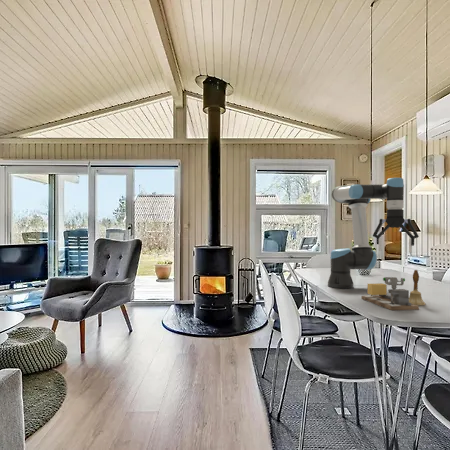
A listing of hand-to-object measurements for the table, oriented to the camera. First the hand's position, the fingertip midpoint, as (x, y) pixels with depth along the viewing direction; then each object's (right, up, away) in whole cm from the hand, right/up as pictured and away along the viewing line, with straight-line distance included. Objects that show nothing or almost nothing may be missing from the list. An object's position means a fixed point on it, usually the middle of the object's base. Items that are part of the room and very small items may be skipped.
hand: (394, 251), depth 163 cm
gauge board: (-7, -24, -8) cm, 26 cm away
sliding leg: (-9, -22, 0) cm, 24 cm away
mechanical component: (+4, -25, +9) cm, 27 cm away
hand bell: (+6, -24, -7) cm, 26 cm away
